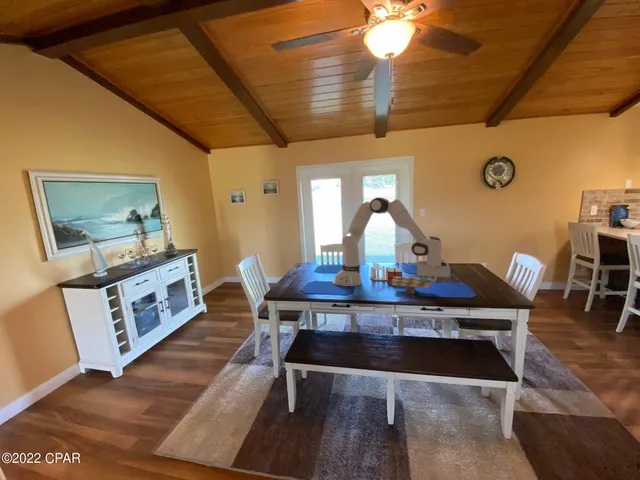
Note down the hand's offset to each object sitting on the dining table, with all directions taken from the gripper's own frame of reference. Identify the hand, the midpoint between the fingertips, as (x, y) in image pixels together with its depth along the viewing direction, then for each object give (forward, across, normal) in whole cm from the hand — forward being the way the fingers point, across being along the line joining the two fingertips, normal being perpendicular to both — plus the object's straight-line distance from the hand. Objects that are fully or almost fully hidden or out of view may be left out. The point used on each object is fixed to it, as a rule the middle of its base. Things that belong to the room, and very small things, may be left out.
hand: (433, 282), depth 177 cm
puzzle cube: (+8, -27, +16) cm, 32 cm away
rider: (+1, -6, 0) cm, 6 cm away
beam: (+8, -14, 0) cm, 16 cm away
